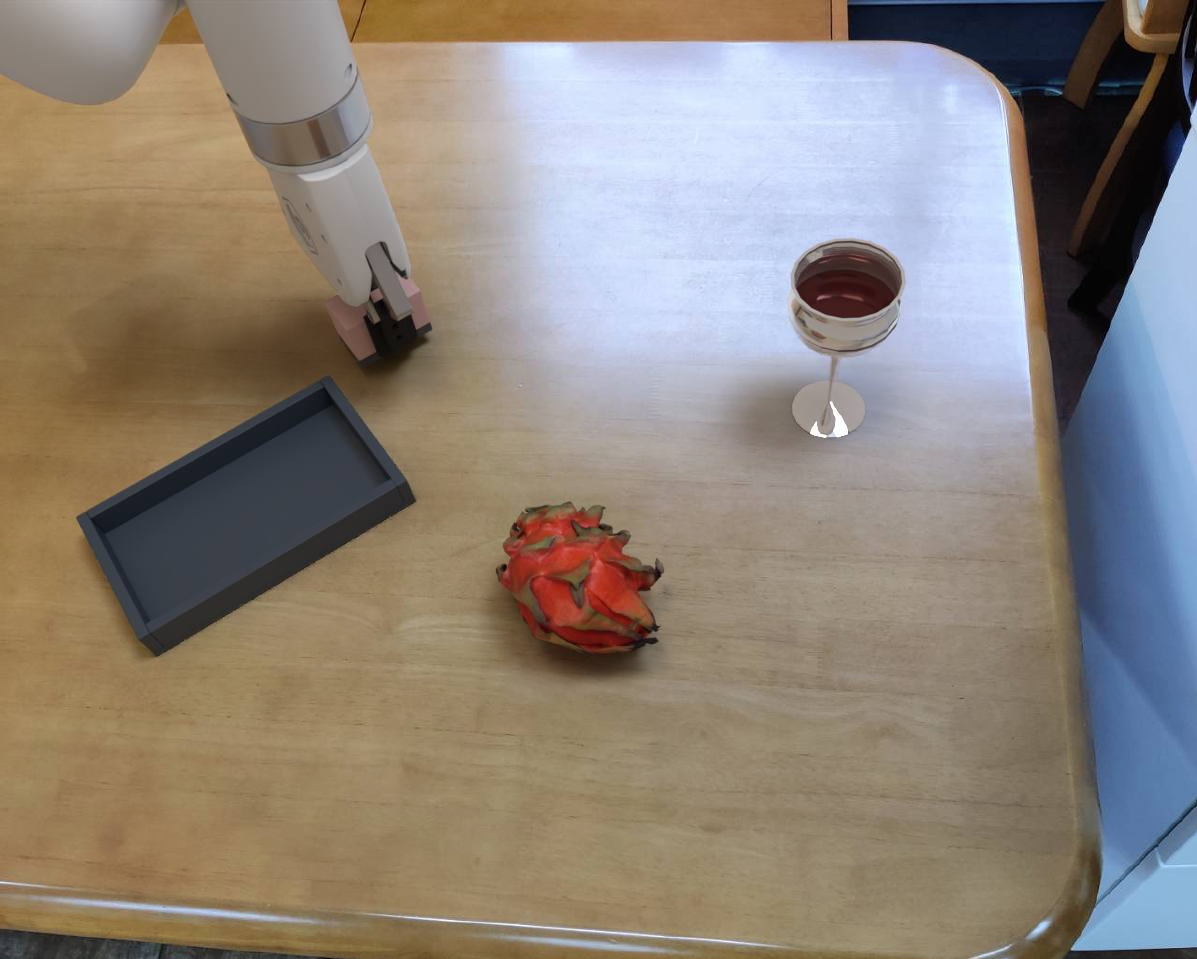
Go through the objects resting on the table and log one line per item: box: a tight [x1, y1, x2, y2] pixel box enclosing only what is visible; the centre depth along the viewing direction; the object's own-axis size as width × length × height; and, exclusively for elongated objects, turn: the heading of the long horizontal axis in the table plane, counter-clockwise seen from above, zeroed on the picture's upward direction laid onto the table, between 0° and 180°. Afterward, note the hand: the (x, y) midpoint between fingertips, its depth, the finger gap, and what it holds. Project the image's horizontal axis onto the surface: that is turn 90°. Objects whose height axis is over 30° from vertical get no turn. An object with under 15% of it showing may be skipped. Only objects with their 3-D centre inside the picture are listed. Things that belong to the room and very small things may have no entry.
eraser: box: [324, 272, 433, 369], centre depth 76 cm, size 6×4×4 cm, turn 124°
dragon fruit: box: [495, 501, 665, 658], centre depth 64 cm, size 8×8×12 cm
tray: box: [75, 374, 417, 657], centre depth 71 cm, size 20×12×2 cm, turn 124°
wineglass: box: [787, 237, 907, 438], centre depth 67 cm, size 7×7×12 cm
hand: (384, 327), depth 77 cm, fingers closed on eraser, 3 cm apart
